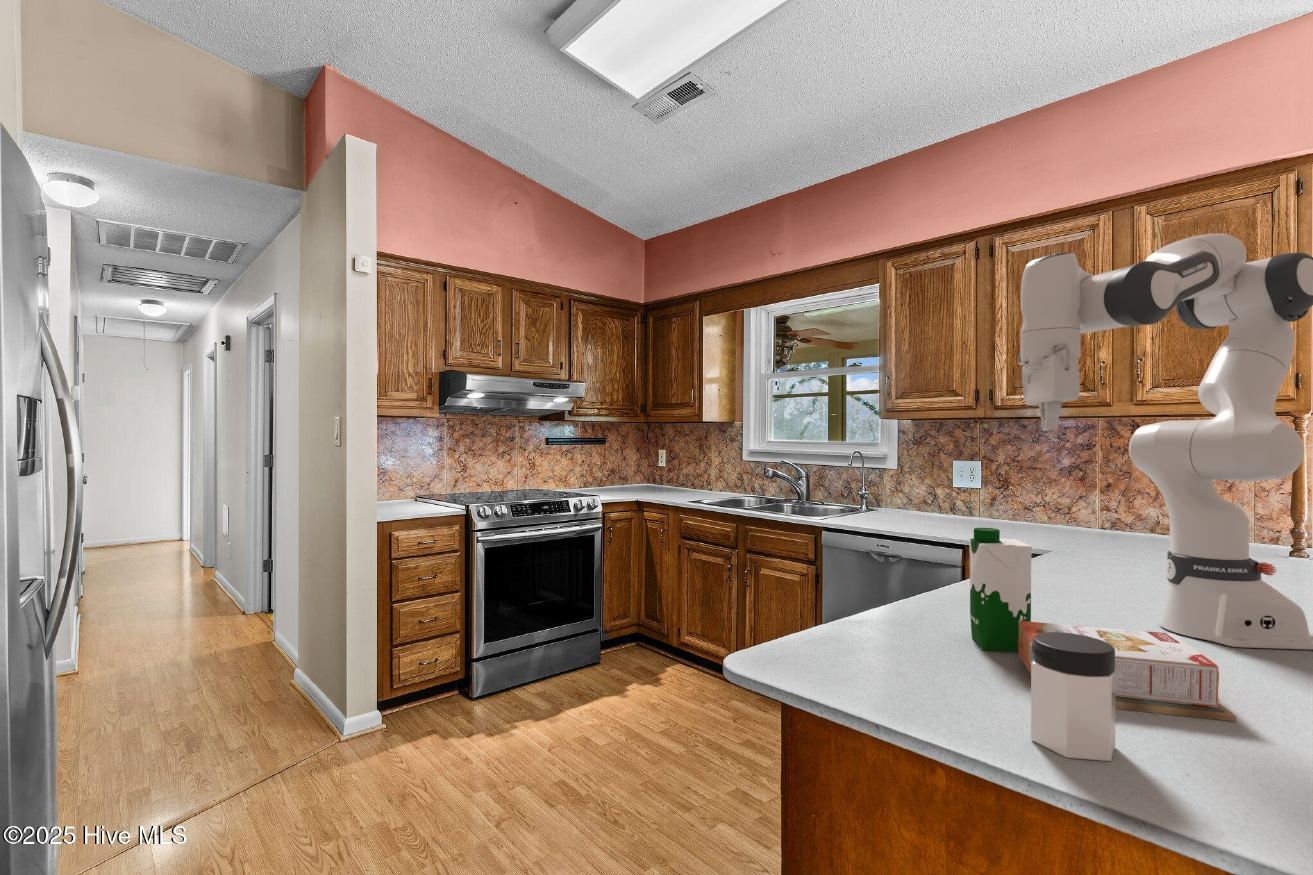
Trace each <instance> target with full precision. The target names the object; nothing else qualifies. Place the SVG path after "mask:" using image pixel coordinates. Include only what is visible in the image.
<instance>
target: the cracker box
mask: <svg viewBox="0 0 1313 875" xmlns="http://www.w3.org/2000/svg"><path fill="white" fill-rule="evenodd" d="M1045 632H1062V633H1072V634H1078V635H1084V636H1088V637H1092V638H1096V639H1099V640H1102V641H1104V642H1107V643H1109V644H1110V645H1112V646H1113V647H1114V649H1115V696H1118V697H1127V698H1136V699H1144V700H1153V701H1162V702H1170V703H1179V704H1187V705H1196V706H1204V707H1213V708H1218V703H1219V687H1220V686H1219V683H1220V671H1219V670H1220V669H1219V665H1218V664H1216V663H1215V662H1214V661H1212V660H1211V659H1209V658H1208V657H1207V656H1206V655H1204V654H1202V653H1200V651H1199V650H1196V649H1195V648H1194V647H1193V646H1191V645H1190V644H1189V643H1188V642H1186V641H1185V640H1184V639H1182V638H1181V637H1179V636H1178V635H1177V634H1176V633H1171V632H1170V633H1169V632H1159V631H1148V630H1147V631H1146V630H1145V631H1144V630H1132V629H1120V628H1109V627H1099V626H1098V627H1097V626H1086V625H1085V626H1084V625H1073V624H1062V623H1061V624H1060V623H1052V622H1051V623H1049V622H1048V623H1047V622H1037V621H1031V622H1027V621H1019V653H1018V655H1019V656H1020V659H1021V661H1022V663H1023V664H1024V665H1025V666H1024V667H1026V669H1027V671H1028V672H1029V675H1031V663H1032V661H1033V660H1034V659H1033V651H1032V644H1033V637H1034V636H1035V635H1036V634H1039V633H1045Z"/></svg>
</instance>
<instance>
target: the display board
mask: <svg viewBox="0 0 1313 875" xmlns="http://www.w3.org/2000/svg"><path fill="white" fill-rule="evenodd" d="M1116 709H1117V710H1118V709H1119V710H1126V711H1135V712H1143V713H1154V714H1161V715H1162V714H1163V715H1170V716H1171V715H1173V716H1179V717H1180V716H1182V717H1190V718H1191V717H1192V718H1201V719H1210V720H1218V721H1226V720H1227V721H1228V722H1237V715H1236V714H1234V713H1233V712H1232V711H1230V710H1229V709H1227V708H1226V707H1225V706H1223V705H1222V704H1221V703H1220V702H1218V708H1213V707H1204V706H1196V705H1187V704H1179V703H1170V702H1162V701H1153V700H1144V699H1136V698H1127V697H1118V696H1115V710H1116ZM1229 720H1230V721H1229ZM1227 721H1226V722H1227Z"/></svg>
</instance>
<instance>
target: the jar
mask: <svg viewBox="0 0 1313 875" xmlns="http://www.w3.org/2000/svg"><path fill="white" fill-rule="evenodd" d="M1032 651H1033V659H1034V660H1033V661H1032V663H1031V674H1030V680H1031V682H1030V686H1031V687H1030V689H1031V690H1030V707H1031V708H1030V740H1032V742H1034V743H1036V744H1038V745H1040V746H1042V747H1045V748H1046V749H1048V750H1051V751H1052V752H1054V753H1056V754H1058V755H1060V756H1062V757H1063V758H1067V759H1078V760H1089V761H1100V762H1101V761H1102V762H1111V761H1112V759H1113V755H1114V751H1115V748H1116V708H1115V649H1114V647H1113V646H1112V645H1110V644H1109V643H1107V642H1104V641H1102V640H1099V639H1096V638H1092V637H1088V636H1084V635H1078V634H1072V633H1062V632H1045V633H1039V634H1036V635H1035V636H1034V637H1033V644H1032Z"/></svg>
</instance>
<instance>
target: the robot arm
mask: <svg viewBox="0 0 1313 875" xmlns="http://www.w3.org/2000/svg"><path fill="white" fill-rule="evenodd" d="M1246 261H1247V248H1246V246H1245V245H1244V243H1243V241H1242V240H1240V239H1239V238H1238V237H1236V236H1234V235H1233V234H1228V233H1224V232H1223V233H1221V232H1220V233H1217V232H1216V233H1215V232H1214V233H1205V234H1201V235H1199V234H1198V235H1194V236H1190V237H1186V238H1183V239H1179V240H1177V241H1174V242H1172V243H1171V242H1170V243H1168V244H1167V245H1165V246H1162V247H1160V248H1159V249H1157V250H1155V251H1154V252H1153V253H1151V254H1150V255H1149V256H1148V257H1147V258H1146V259H1145V260H1144V261H1140V262H1138V263H1137V262H1136V263H1133V264H1131V265H1128V266H1125V267H1123V268H1118V269H1114V270H1110V271H1105V272H1102V273H1098V274H1094V275H1093V274H1092V273H1089V272H1087V271H1085V270H1084V269H1083V268H1082V267H1081V266H1080V265H1079V262H1078V258H1077V255H1076V253H1074V252H1067V251H1065V252H1064V251H1063V252H1057V253H1054V254H1049V255H1045V256H1042V257H1038V258H1036V259H1033V260H1030V261H1029V262H1028V263H1027V264H1026V265H1025V267H1024V270H1023V273H1022V278H1021V284H1020V285H1021V286H1020V313H1021V315H1022V326H1021V329H1020V337H1019V338H1020V348H1019V353H1018V358H1017V359H1018V360H1017V362H1018V365H1020V366H1022V367H1021V380H1022V391H1023V400H1024V403H1025V404H1026V405H1027V406H1038V407H1039V408H1038V409H1039V410H1038V411H1039V415H1040V419H1041V429H1042V430H1043V431H1056V430H1058V429H1059V419H1060V415H1061V410H1062V403H1066V402H1071V401H1076V400H1078V399H1079V397H1080V396H1079V395H1080V391H1081V390H1080V389H1081V388H1080V368H1079V366H1080V365H1079V359H1080V358H1081V353H1082V352H1081V349H1082V347H1081V342H1082V340H1081V339H1082V336H1081V334H1088V333H1095V332H1102V331H1108V330H1109V331H1110V330H1114V329H1120V328H1121V329H1122V328H1128V327H1136V326H1137V327H1138V326H1139V327H1140V326H1149V325H1155V324H1156V323H1159V322H1161V321H1163V319H1164V318H1166V317H1167V316H1168V315H1169V314H1170V313H1171V311H1172V310H1173V309H1174V308H1175V312H1176V314H1177V317H1178V318H1179V320H1180V321H1181V322H1182V323H1184V325H1186V326H1187V327H1188V328H1191V329H1194V330H1209V329H1210V330H1212V329H1216V328H1218V327H1226V326H1228V334H1227V337H1226V338H1225V339H1224V341H1223V342H1222V343H1221V345H1220V346H1219V348H1218V350H1216V352H1215V354H1214V356H1213V358H1212V360H1211V362H1210V364H1209V365H1208V368H1207V370H1206V372H1205V374H1204V376H1203V378H1202V380H1201V382H1200V384H1199V385H1198V389H1197V395H1198V400H1199V402H1200V404H1201V406H1203V408H1205V409H1206V410H1207V411H1209V412H1210V413H1212V414H1213V415H1215V417H1213V418H1211V419H1209V418H1208V419H1189V420H1185V419H1183V420H1179V419H1178V420H1166V421H1159V422H1154V423H1151V424H1150V423H1149V424H1144V425H1142V426H1140V427H1139V428H1137V429H1136V430H1135V431H1134V433H1133V434H1132V436H1131V437H1130V440H1129V444H1128V454H1129V458H1130V460H1131V461H1132V464H1133V465H1134V466H1135V467H1136V468H1137V469H1138V470H1139V471H1140V472H1142V473H1143V474H1144V475H1145V476H1147V477H1148V478H1149V479H1150V480H1151V481H1152V482H1153V484H1154V485H1155V486H1156V487H1157V489H1158V490H1159V492H1160V494H1161V496H1162V497H1163V501H1164V502H1165V505H1166V509H1167V514H1168V523H1169V542H1170V543H1169V546H1170V549H1169V551H1167V554H1166V555H1167V558H1166V559H1167V560H1166V566H1165V568H1166V577H1167V578H1166V579H1167V581H1168V588H1167V593H1166V599H1165V604H1164V607H1163V611H1162V615H1161V617H1160V620H1159V622H1158V625H1159V626H1160V627H1162V628H1164V629H1165V630H1168V631H1170V632H1173V633H1175V634H1180V635H1184V636H1188V637H1190V638H1197V639H1200V640H1204V641H1205V640H1206V641H1209V642H1210V641H1211V642H1213V643H1217V644H1221V645H1225V646H1229V647H1234V648H1257V649H1281V650H1282V649H1286V650H1289V649H1290V650H1313V633H1312V632H1310V631H1309V630H1310V629H1309V625H1308V620H1307V616H1306V615H1305V612H1304V610H1303V608H1301V606H1300V605H1298V604H1297V603H1296V602H1294V601H1293V600H1292V599H1290V598H1289V597H1287V596H1286V595H1285V594H1283V593H1281V592H1280V591H1278V590H1277V589H1276V588H1274V587H1273V586H1271V585H1270V584H1268V583H1267V582H1266V581H1263V580H1262V575H1263V574H1264V575H1266V576H1269V577H1270V576H1274V575H1275V574H1276V573H1277V572H1276V571H1277V568H1276V566H1275V565H1274V564H1271V563H1268V562H1264V561H1263V562H1259V561H1257V560H1255V559H1254V558H1253V559H1252V558H1251V557H1250V520H1249V518H1248V515H1247V514H1246V513H1245V511H1244V510H1243V509H1242V508H1240V507H1239V506H1238V505H1236V504H1235V503H1232V502H1231V501H1228V500H1226V499H1225V498H1224V497H1222V496H1221V495H1220V494H1219V493H1218V491H1217V489H1216V487H1215V485H1214V480H1215V481H1217V480H1218V481H1231V482H1232V481H1234V482H1248V483H1249V482H1250V483H1251V482H1263V481H1271V480H1278V479H1286V478H1289V476H1291V475H1292V474H1294V473H1295V472H1296V470H1297V469H1298V468H1299V466H1301V464H1302V462H1303V460H1304V456H1305V446H1304V445H1305V444H1304V442H1303V439H1302V438H1301V436H1300V434H1299V433H1298V432H1297V431H1296V430H1295V429H1294V428H1293V427H1292V426H1291V425H1289V424H1287V423H1286V422H1284V421H1282V420H1281V419H1280V418H1279V417H1278V416H1277V415H1276V410H1275V405H1276V401H1277V398H1278V396H1279V393H1280V390H1281V387H1282V385H1283V383H1284V380H1285V378H1286V377H1287V375H1288V372H1289V369H1290V366H1291V363H1292V360H1293V356H1294V352H1295V347H1296V346H1295V345H1296V333H1295V330H1294V329H1293V327H1291V325H1290V323H1293V322H1294V323H1295V322H1297V321H1299V320H1302V319H1303V318H1304V317H1306V315H1307V314H1308V313H1309V310H1310V308H1311V307H1313V256H1312V255H1310V254H1308V253H1307V252H1287V253H1278V254H1276V255H1274V256H1272V257H1267V258H1262V259H1257V260H1254V261H1248V262H1246Z"/></svg>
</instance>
